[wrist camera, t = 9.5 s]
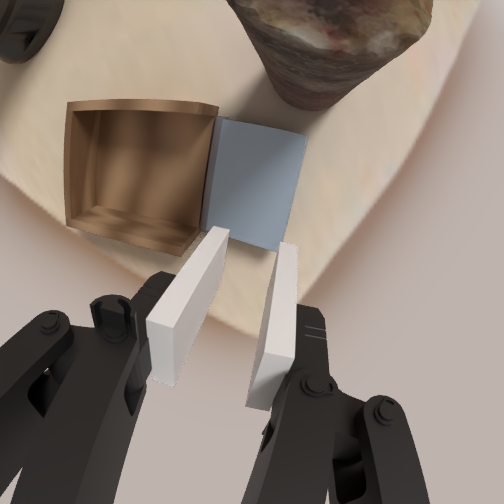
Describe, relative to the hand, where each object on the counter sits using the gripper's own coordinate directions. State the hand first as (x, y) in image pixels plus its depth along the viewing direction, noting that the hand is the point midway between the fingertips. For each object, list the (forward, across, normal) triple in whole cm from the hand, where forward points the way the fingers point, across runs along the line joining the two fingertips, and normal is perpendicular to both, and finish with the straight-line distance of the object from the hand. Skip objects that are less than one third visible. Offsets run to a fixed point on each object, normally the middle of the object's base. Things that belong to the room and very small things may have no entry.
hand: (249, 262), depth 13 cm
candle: (+17, +1, +12) cm, 21 cm away
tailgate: (+15, -6, 0) cm, 17 cm away
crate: (+16, -14, 0) cm, 22 cm away
